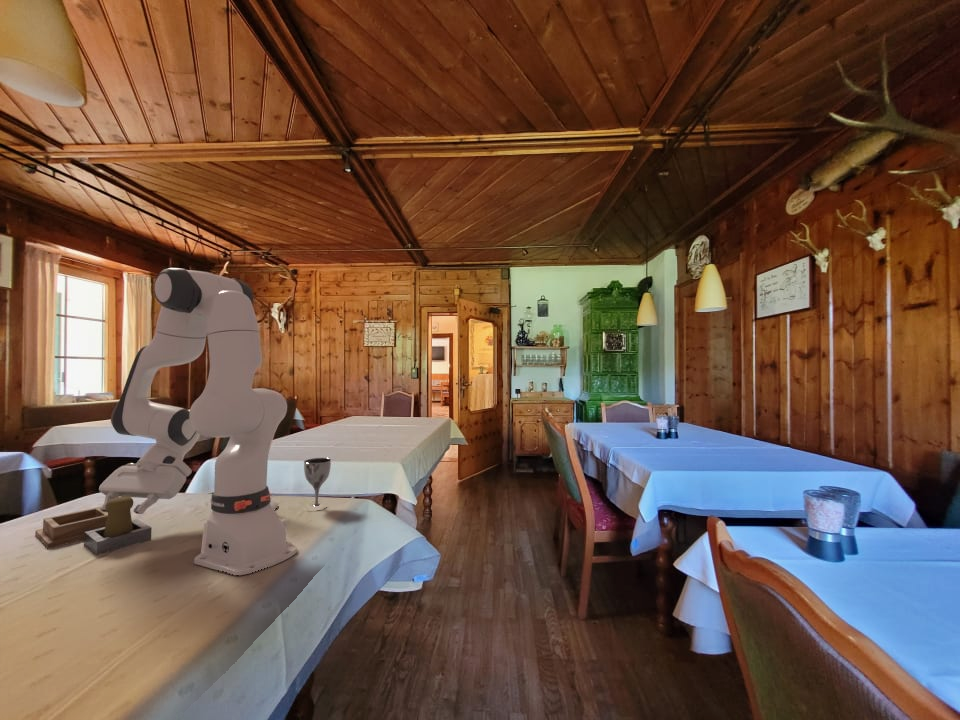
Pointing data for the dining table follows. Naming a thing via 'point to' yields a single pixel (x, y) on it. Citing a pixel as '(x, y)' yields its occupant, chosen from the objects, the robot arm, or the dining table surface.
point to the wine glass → (317, 473)
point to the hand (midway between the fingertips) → (120, 512)
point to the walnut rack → (70, 526)
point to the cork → (118, 516)
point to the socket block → (116, 538)
